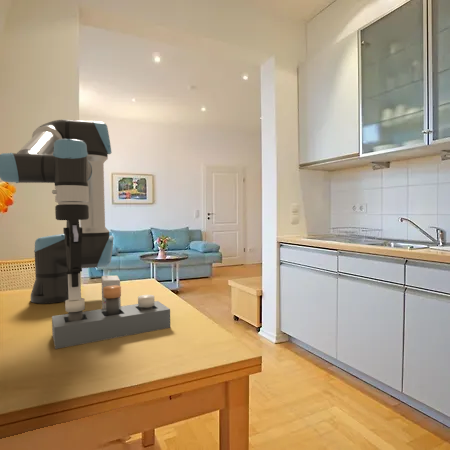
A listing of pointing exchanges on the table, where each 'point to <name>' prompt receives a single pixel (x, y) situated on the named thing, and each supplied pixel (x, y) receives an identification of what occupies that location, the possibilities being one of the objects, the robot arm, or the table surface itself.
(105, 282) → the ink box
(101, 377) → the table surface
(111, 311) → the knob middle
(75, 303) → the knob
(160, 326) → the board
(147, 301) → the knob
